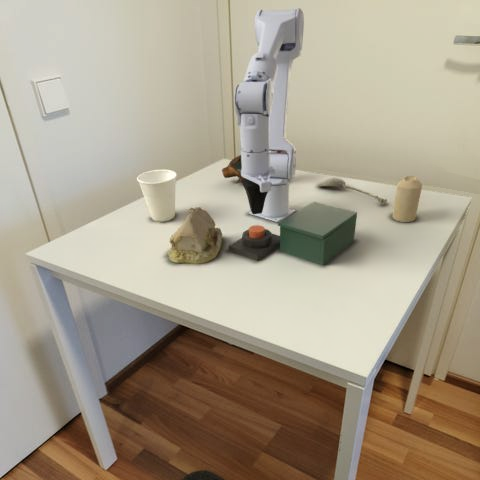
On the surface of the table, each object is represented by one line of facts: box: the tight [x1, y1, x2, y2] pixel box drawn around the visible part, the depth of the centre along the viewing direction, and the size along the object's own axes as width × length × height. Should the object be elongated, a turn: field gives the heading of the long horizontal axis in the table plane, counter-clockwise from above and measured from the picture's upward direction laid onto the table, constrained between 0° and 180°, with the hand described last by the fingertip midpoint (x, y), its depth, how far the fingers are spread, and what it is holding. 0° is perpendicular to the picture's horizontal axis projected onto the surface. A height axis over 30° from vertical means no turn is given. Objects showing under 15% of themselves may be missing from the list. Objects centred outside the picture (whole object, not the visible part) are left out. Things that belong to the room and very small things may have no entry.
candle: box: [392, 175, 423, 223], centre depth 109 cm, size 6×6×10 cm
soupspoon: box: [319, 177, 388, 206], centre depth 125 cm, size 22×3×7 cm
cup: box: [136, 169, 178, 223], centre depth 115 cm, size 10×10×11 cm
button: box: [248, 224, 266, 239], centre depth 101 cm, size 4×4×2 cm
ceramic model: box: [167, 206, 223, 265], centre depth 100 cm, size 14×11×10 cm
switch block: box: [228, 228, 280, 262], centre depth 102 cm, size 8×10×3 cm
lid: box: [277, 201, 358, 239], centre depth 98 cm, size 14×11×1 cm
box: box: [279, 215, 358, 267], centre depth 100 cm, size 14×11×6 cm
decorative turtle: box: [221, 154, 246, 184], centre depth 135 cm, size 10×15×8 cm, turn 101°
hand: (256, 212), depth 98 cm, fingers closed
